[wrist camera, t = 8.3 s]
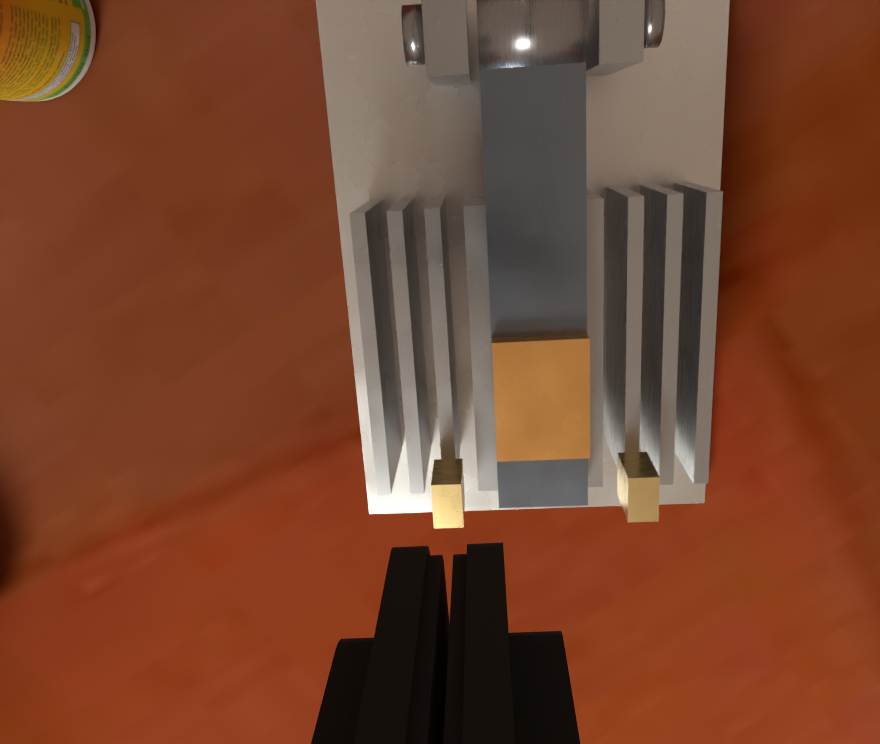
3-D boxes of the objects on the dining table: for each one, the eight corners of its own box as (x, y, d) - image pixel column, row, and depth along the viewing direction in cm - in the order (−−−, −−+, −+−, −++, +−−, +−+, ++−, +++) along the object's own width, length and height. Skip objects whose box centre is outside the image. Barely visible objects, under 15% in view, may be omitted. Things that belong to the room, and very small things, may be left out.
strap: (475, -9, 22) (475, -25, 20) (577, -17, 22) (589, -34, 20) (497, 485, 27) (499, 518, 25) (581, 483, 27) (590, 515, 25)
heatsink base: (322, 1, 27) (268, -42, 20) (720, -31, 26) (808, -87, 19) (373, 500, 33) (345, 599, 26) (696, 489, 32) (756, 589, 25)
